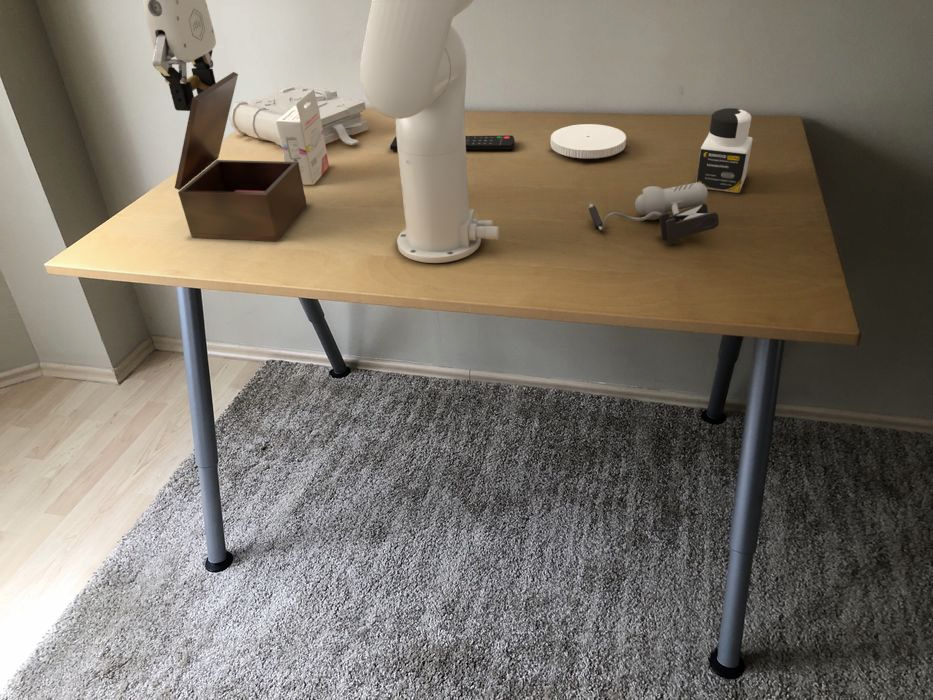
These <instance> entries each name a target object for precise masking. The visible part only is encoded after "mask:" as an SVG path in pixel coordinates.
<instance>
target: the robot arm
mask: <svg viewBox="0 0 933 700" xmlns="http://www.w3.org/2000/svg"><path fill="white" fill-rule="evenodd" d="M473 2H474V0H371V3H370V8H369V13H368V19H367V23H366V29H365V33H364V34H365V35H364V39H363V44H362V50H361V56H360V65H359V77H360V85H361V88H362V91H363V93H364V96H365V98H366V100H367V101H368V103H369V104H370V105H371V107H373V109H374V110H375V111H377V112H378V113H379V114H381V115H383V116H384V117H387V118H391V119H395V134H396V135H395V136H396V138H397V148H398V150H397V158H398V165H399V174H400V175H399V176H400V184H401V193H402V202H403V212H404V220H405V221H404V222H405V229H403V230H402V231H401V232H400V233H399V235H398V236H397V239H396V243H397V249H398V251H399V252H400V253H401V255H402V256H404V257H406V258H407V259H409V260H412V261H416V262H420V263H426V264H440V263H441V264H443V263H450V262H454V261H458V260H461V259H464V258H466V257H468V256H470V255H472V254H474V252H476V251H477V250H478V249H479V247H480V246H481V243H482V239H485V240H497V241H498V240H499V238H500V227H499V226H498V225H494V220H492V219H483V220H482V219H478V218H477V217H475V209H473V208H471V209H470V203H469V202H470V201H469V182H468V163H467V149H466V138H465V136H466V113H465V111H466V109H465V108H466V107H465V106H466V103H465V102H466V88H467V69H468V65H467V62H468V61H467V54H466V48H465V45H464V42H463V39H462V38H461V36H460V34H459V32H458V31H457V30H456V29H455V27H454V26H452V22H453V20H454V18H455V17H456V16H457V15H460V14H461V13H462V12H463V11H464V10H466V9H467V8H468V7H469V6H471V5H472V3H473ZM142 5H143V11H144V17H145V22H146V26H147V27H146V28H147V32H148V35H149V40H150V45H151V47H152V50H153V58H152V66H153V68H155V69H156V71H158V72H159V74H160V75H161V77H163V78H164V81H165V83H166V84H167V85H168V87H169V91H171V92H170V95H171V100H172V103H173V107H174V110H176V111H179V112H180V111H182V112H190V109H191V104H192V99H193V97H195V95H194V90H193V91H192V87H191V82H187V78H188V71H187V63H188V64H189V63H191V64H192V66H193V67H192V68H191V74H192V75H196V76H198V77H199V78H200V79H201V82H202V83H204V84H206V85H208V86H210V87H211V86H212V85H214V84H215V83H217V82H216V77H215V74H214V69H213V67H214V61H213V59H212V56H213V51H214V49H215V47H216V45H217V40H216V35H215V31H214V30H215V29H214V26H213V22H212V18H211V15H210V10H209V8H208V4H207V0H142ZM173 58H174V59H173ZM174 66H178V70H177V69H176V68H175V67H174ZM195 91H196V94H197V95H198V94H200V93H201V92H203V91H204V90H202V89H200V88H197V89H195Z"/></svg>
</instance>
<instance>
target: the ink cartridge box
mask: <svg viewBox="0 0 933 700" xmlns="http://www.w3.org/2000/svg"><path fill="white" fill-rule="evenodd" d="M306 101H307V102H308V101H310V104H309V105H308V106H304V104H306ZM276 124H277V129H278V133H279V138H280V142H281V151H282V155H283V160H284V162H299V167H300V173H301V178H302V183H303V186H313V185H315V184H316V183H317V182H318V181H319V180H320V178H321V177H322V176H323V175H324V174H325V172H327V170H328V169H329V168H330V164H329V158H328V152H327V147H326V144H325V140H324V134H323V129H322V123H321V117H320V111H319V106H318V103H317V99H316V96H315V92H314V90H312V91H310V92H309V93H308V94H307V95H305V96H304V97H303V98H302V99H301V100H300V101H298V102H297V103H296V106H294V107H292V108H291V109H290V110H289V111H288V112H287V113H285V114H284V115H283V116H282V117H280V118H279V119H278V120H277V121H276Z"/></svg>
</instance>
